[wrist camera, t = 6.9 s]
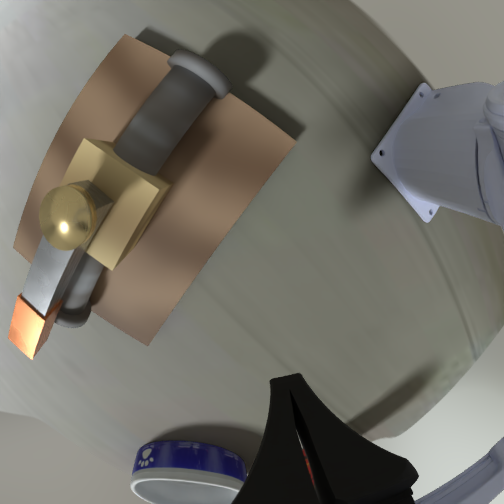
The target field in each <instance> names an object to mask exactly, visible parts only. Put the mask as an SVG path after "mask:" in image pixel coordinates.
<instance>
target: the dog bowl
mask: <svg viewBox="0 0 504 504" xmlns="http://www.w3.org/2000/svg"><path fill="white" fill-rule="evenodd" d="M246 478H247V473H246V468H245V464H244V461H243V460H242V459H241V458H240V457H239V456H238V455H236V454H235V453H233V452H231V451H229V450H226V449H224V448H221V447H218V446H214V445H210V444H205V443H199V442H191V441H159V442H153V443H149V444H147V445H144V446H143V447H141V448H140V449H139V451H138V453H137V456H136V460H135V464H134V468H133V472H132V478H131V484H130V487H131V489H132V491H133V492H134V493H135V494H136V495H137V496H139V497H140V498H142V499H143V500H145V501H148V502H150V503H152V504H231V503H232V501H233V500H234V498H235V497H236V495H237V494H238V492H239V491H240V489H241V487H242V486H243V484H244V482H245V480H246Z"/></svg>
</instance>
